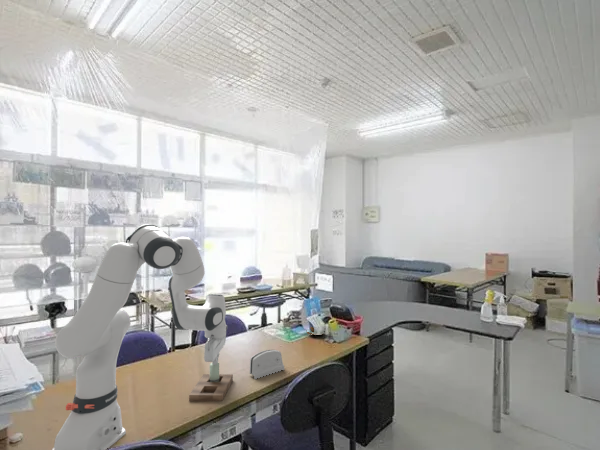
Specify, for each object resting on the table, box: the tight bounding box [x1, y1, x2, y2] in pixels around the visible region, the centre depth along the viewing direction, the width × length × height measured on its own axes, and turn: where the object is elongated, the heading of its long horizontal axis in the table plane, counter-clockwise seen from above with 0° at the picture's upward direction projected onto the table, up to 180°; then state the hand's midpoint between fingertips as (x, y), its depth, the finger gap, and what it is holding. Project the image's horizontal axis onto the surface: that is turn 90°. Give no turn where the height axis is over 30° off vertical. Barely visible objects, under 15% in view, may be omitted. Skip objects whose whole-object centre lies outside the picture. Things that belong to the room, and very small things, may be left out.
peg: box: [209, 362, 220, 382], centre depth 143 cm, size 4×4×9 cm
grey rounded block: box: [248, 349, 285, 380], centre depth 156 cm, size 17×5×10 cm, turn 127°
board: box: [188, 373, 234, 402], centre depth 139 cm, size 18×13×2 cm
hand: (215, 363), depth 143 cm, fingers closed
